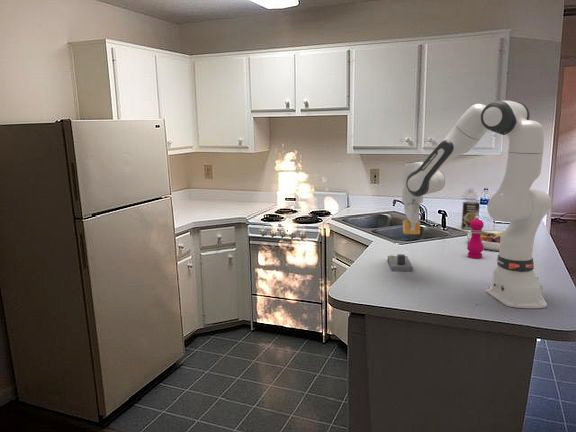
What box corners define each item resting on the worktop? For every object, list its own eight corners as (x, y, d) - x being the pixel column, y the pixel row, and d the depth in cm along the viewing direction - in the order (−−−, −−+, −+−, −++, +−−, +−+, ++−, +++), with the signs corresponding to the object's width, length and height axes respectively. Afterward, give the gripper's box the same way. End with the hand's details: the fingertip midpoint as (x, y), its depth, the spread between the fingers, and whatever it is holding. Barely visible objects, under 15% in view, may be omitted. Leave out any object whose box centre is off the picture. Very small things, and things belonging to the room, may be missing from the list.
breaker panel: (412, 271, 202) (412, 265, 202) (391, 270, 203) (391, 264, 203) (406, 260, 219) (407, 254, 218) (387, 259, 220) (387, 254, 219)
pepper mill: (484, 259, 218) (487, 217, 214) (468, 258, 220) (470, 217, 216) (481, 255, 225) (483, 214, 221) (465, 254, 227) (467, 214, 223)
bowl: (465, 237, 262) (466, 223, 260) (524, 240, 252) (525, 226, 251) (468, 251, 234) (469, 236, 232) (534, 255, 224) (536, 239, 223)
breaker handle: (404, 264, 205) (405, 256, 204) (397, 263, 205) (398, 256, 205) (403, 262, 208) (404, 254, 207) (397, 262, 208) (397, 254, 208)
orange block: (419, 234, 202) (420, 223, 201) (404, 234, 203) (404, 222, 202) (417, 230, 208) (418, 219, 207) (402, 230, 209) (403, 219, 208)
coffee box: (461, 229, 279) (463, 203, 276) (461, 227, 285) (462, 201, 282) (478, 230, 276) (479, 203, 273) (477, 228, 282) (478, 202, 279)
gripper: (423, 202, 192) (422, 234, 195) (416, 194, 212) (415, 223, 215) (408, 202, 193) (406, 234, 196) (402, 194, 213) (401, 223, 215)
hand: (411, 228), depth 205 cm, fingers closed on orange block, 7 cm apart
